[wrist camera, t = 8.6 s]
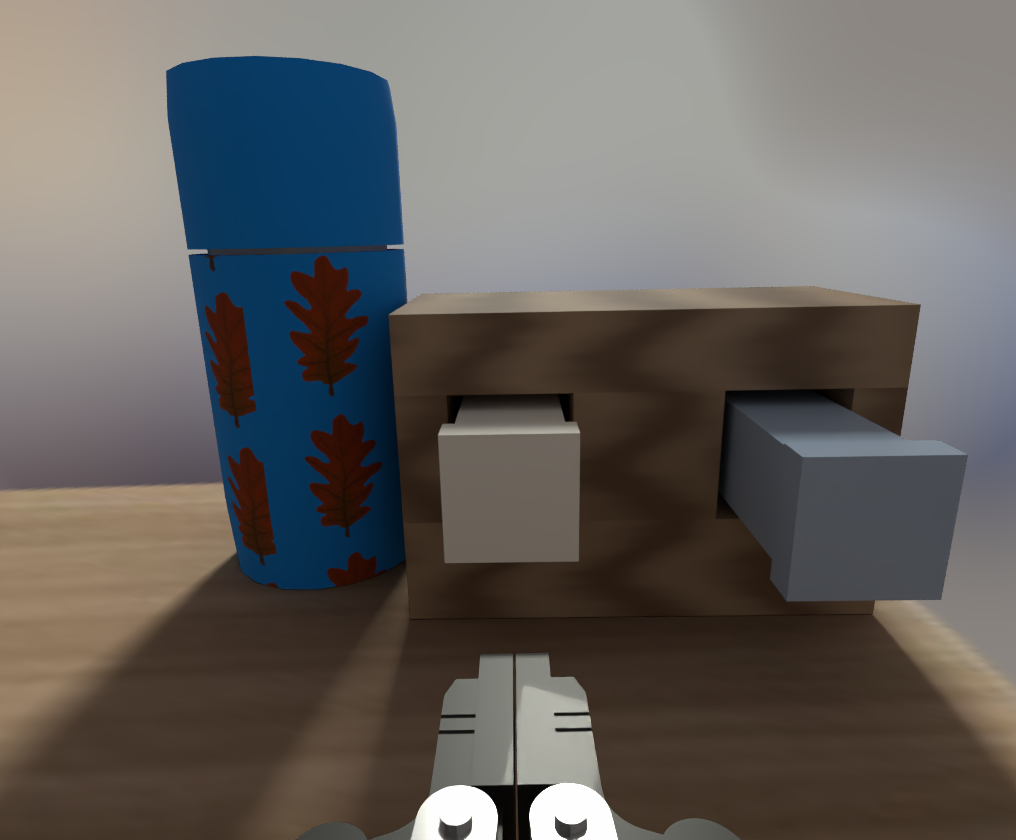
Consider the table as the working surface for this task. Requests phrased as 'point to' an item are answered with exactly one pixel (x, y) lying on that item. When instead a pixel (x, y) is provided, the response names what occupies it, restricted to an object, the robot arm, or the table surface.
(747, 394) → the key blue
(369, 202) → the thermos
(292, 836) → the table surface
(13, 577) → the table surface
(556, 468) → the key white
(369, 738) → the table surface
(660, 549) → the housing
